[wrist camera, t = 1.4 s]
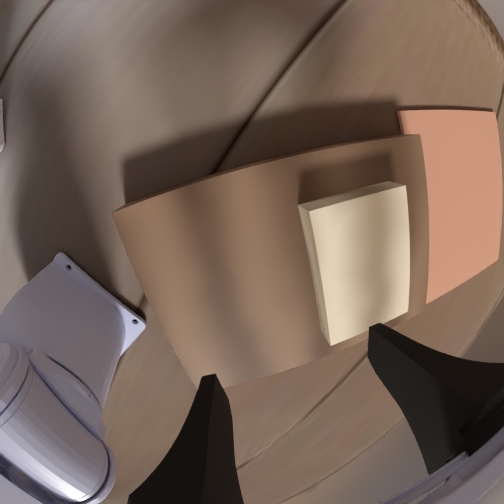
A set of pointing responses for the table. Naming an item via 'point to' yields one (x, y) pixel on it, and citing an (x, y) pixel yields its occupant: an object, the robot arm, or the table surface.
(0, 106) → the jar
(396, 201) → the birch tile
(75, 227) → the table surface
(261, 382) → the table surface
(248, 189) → the walnut board
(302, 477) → the table surface
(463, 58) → the table surface
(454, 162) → the terracotta mat
